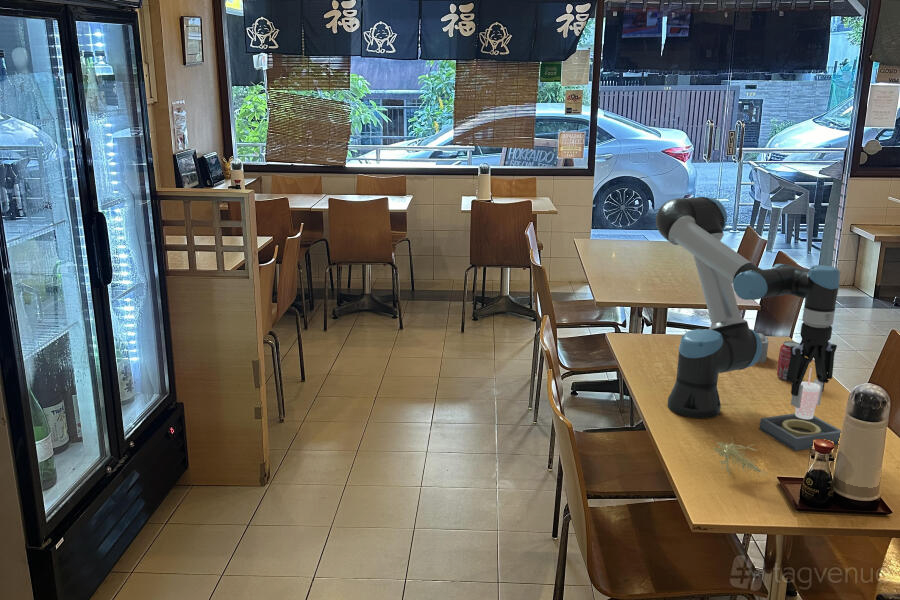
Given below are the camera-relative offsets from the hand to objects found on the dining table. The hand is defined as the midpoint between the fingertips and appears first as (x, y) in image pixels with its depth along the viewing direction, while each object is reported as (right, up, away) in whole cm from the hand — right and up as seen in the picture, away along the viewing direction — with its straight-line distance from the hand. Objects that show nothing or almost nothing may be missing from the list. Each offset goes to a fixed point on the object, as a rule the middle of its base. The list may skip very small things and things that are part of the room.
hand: (805, 404), depth 222 cm
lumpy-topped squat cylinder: (+8, +8, +67) cm, 68 cm away
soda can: (+15, +3, +47) cm, 49 cm away
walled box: (0, -9, +3) cm, 10 cm away
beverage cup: (0, -3, +1) cm, 4 cm away
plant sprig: (-25, -15, -20) cm, 35 cm away
